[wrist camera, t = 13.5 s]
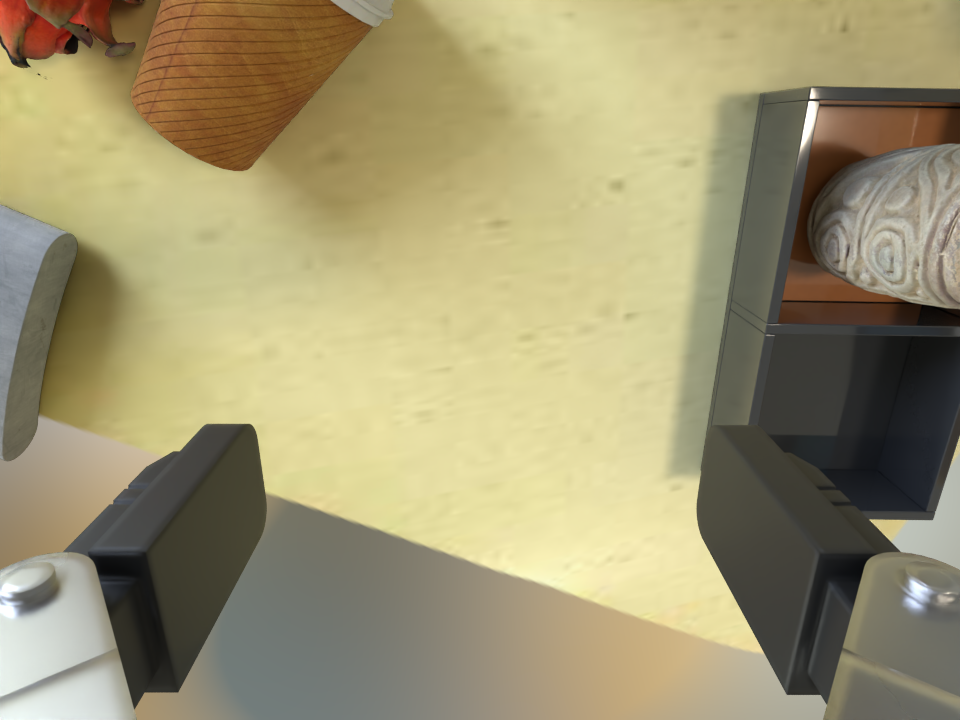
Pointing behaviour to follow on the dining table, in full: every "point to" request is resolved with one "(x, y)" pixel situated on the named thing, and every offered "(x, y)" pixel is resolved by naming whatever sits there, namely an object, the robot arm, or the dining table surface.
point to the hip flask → (27, 318)
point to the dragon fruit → (56, 28)
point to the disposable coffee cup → (242, 69)
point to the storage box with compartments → (838, 311)
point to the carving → (893, 225)
